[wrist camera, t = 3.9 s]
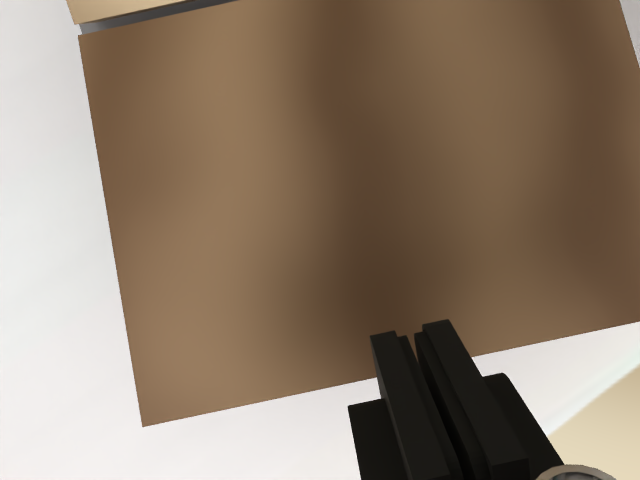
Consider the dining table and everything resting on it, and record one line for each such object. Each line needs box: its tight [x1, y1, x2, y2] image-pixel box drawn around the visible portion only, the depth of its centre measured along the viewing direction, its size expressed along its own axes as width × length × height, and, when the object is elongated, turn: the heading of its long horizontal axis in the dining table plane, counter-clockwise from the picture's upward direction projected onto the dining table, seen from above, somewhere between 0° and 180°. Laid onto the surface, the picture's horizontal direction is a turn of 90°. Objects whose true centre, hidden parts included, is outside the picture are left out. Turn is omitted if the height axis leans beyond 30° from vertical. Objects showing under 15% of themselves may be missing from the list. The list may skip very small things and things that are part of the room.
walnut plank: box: [78, 0, 640, 427], centre depth 16 cm, size 15×11×2 cm
